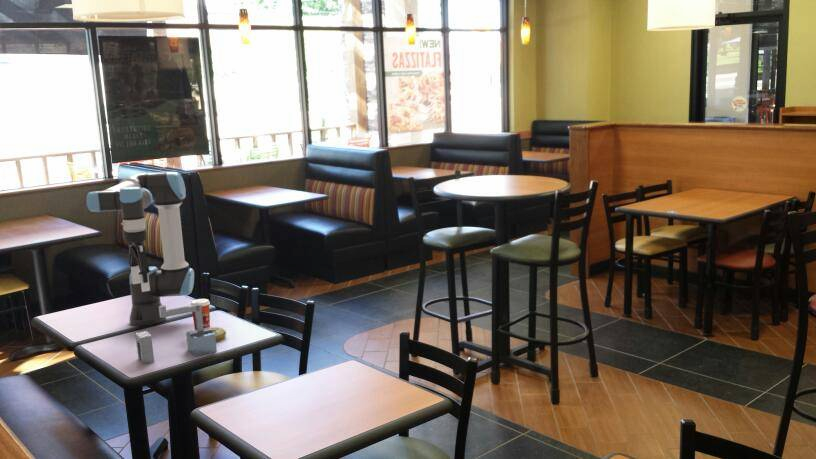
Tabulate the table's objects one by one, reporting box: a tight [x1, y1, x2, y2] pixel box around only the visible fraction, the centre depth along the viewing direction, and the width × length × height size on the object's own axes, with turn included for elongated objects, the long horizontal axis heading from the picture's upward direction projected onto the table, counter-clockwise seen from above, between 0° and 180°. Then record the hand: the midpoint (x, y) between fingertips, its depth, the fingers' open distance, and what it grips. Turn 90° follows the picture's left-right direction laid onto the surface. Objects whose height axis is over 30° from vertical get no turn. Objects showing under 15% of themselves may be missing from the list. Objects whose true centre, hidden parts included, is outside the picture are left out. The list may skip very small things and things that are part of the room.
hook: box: [135, 330, 155, 365], centre depth 271 cm, size 7×4×10 cm, turn 34°
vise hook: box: [159, 304, 218, 357], centre depth 275 cm, size 10×18×20 cm, turn 124°
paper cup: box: [189, 298, 211, 330], centre depth 299 cm, size 8×8×14 cm
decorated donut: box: [210, 326, 227, 342], centre depth 294 cm, size 10×11×4 cm
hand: (141, 287), depth 269 cm, fingers open, 13 cm apart
